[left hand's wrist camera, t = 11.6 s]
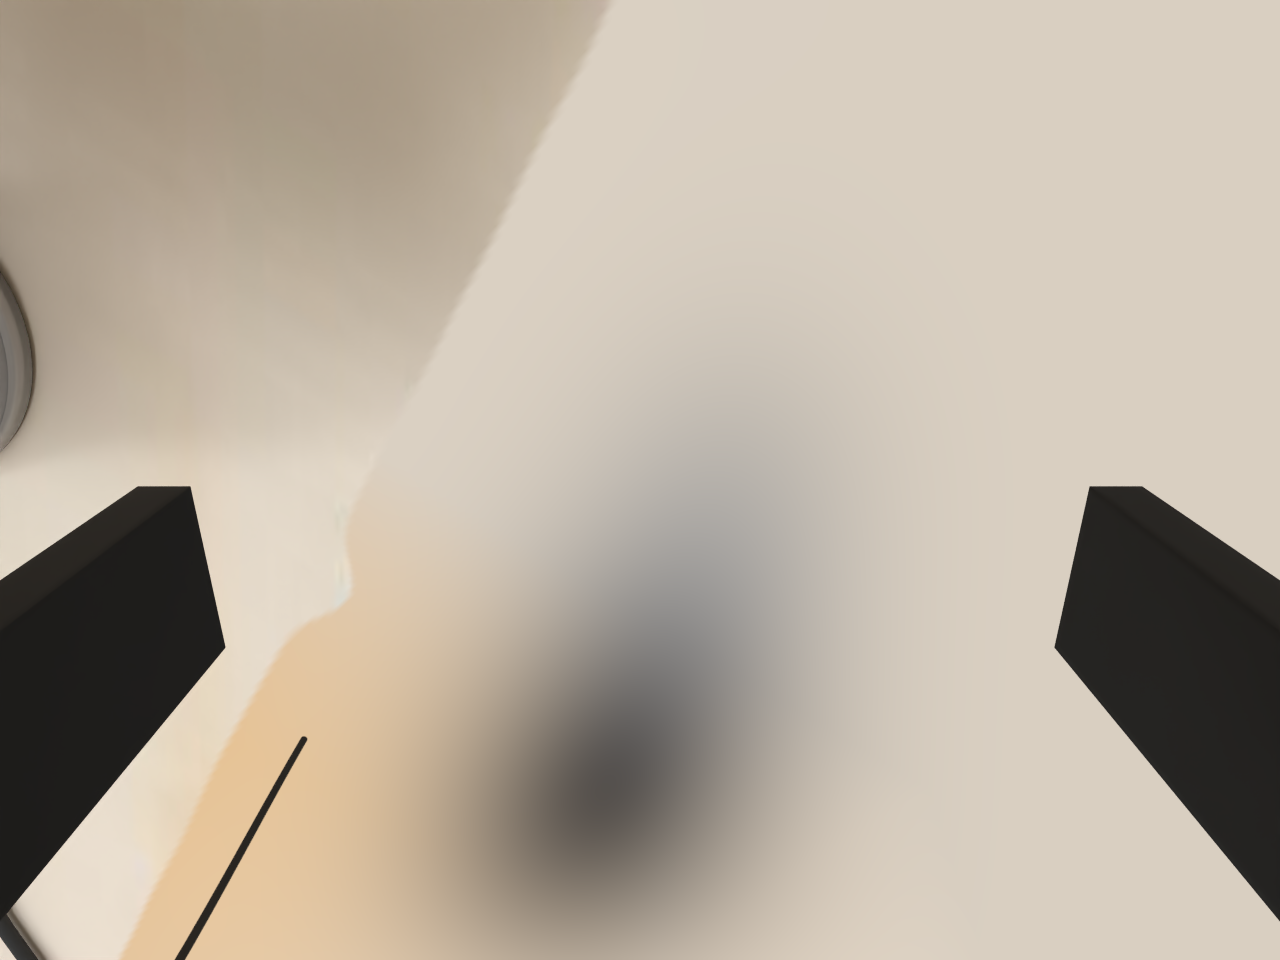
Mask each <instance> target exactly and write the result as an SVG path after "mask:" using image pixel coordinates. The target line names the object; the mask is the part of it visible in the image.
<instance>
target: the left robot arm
mask: <svg viewBox="0 0 1280 960" xmlns="http://www.w3.org/2000/svg"><path fill="white" fill-rule="evenodd" d="M31 386H32V357H31V349H30V343H29V338H28V334H27V330H26V327H25V323H24V320H23V317H22V314H21V312H20V309H19V307H18V304H17V302H16V300H15V298H14V296H13V294H12V291H11V289H10V287H9V286H8V284H7V282H6V280H5V279H4V277H3V275H2V274H1V272H0V451H1V450H2V449H3V448H4V447H5V446H6V445H7V444H8V443H9V441H10V440H11V439H12V437H13V436H14V435H15V433H16V431H17V430H18V428H19V426H20V424H21V422H22V420H23V418H24V415H25V413H26V410H27V406H28V403H29V399H30V394H31ZM224 649H225V643H224V638H223V634H222V629H221V625H220V620H219V615H218V611H217V606H216V602H215V597H214V593H213V588H212V583H211V579H210V574H209V570H208V565H207V560H206V556H205V551H204V547H203V542H202V538H201V533H200V528H199V524H198V519H197V515H196V510H195V506H194V501H193V496H192V492H191V487H190V486H138V487H136V488H135V489H133V490H132V491H130V492H129V493H128V494H126V495H125V496H123V497H122V498H120V499H119V500H117V501H116V502H114V503H113V504H111V505H110V506H108V507H107V508H106V509H104V510H103V511H101V512H100V513H98V514H97V515H95V516H94V517H92V518H91V519H89V520H88V521H87V522H85V523H84V524H82V525H81V526H79V527H78V528H76V529H75V530H73V531H72V532H70V533H69V534H67V535H66V536H65V537H63V538H62V539H60V540H59V541H57V542H56V543H54V544H53V545H51V546H50V547H48V548H47V549H45V550H44V551H43V552H41V553H40V554H38V555H37V556H35V557H34V558H32V559H31V560H29V561H28V562H26V563H25V564H23V565H22V566H21V567H19V568H18V569H16V570H15V571H13V572H12V573H10V574H9V575H7V576H6V577H4V578H3V579H1V580H0V937H1V939H2V940H3V942H4V943H5V944H6V946H7V947H8V948H9V950H10V951H11V953H12V954H13V955H14V957H15V958H16V959H17V960H38V959H37V957H36V956H35V955H34V953H33V952H32V950H31V949H30V948H29V946H28V945H27V943H26V942H25V941H24V939H23V938H22V936H21V935H20V934H19V932H18V931H17V929H16V928H15V926H14V925H13V923H12V922H11V920H10V919H9V917H8V916H7V914H6V913H7V912H8V911H9V910H10V909H11V907H12V906H13V905H14V904H15V903H16V901H17V900H18V899H19V898H20V896H21V895H22V894H23V893H24V892H25V890H26V889H27V888H28V887H29V886H30V884H31V883H32V882H33V881H34V879H35V878H36V877H37V876H38V875H39V873H40V872H41V871H42V870H43V869H44V867H45V866H46V865H47V864H48V862H49V861H50V860H51V859H52V858H53V856H54V855H55V854H56V853H57V852H58V850H59V849H60V848H61V847H62V845H63V844H64V843H65V842H66V841H67V839H68V838H69V837H70V836H71V835H72V833H73V832H74V831H75V830H76V828H77V827H78V826H79V825H80V824H81V822H82V821H83V820H84V819H85V818H86V816H87V815H88V814H89V813H90V811H91V810H92V809H93V808H94V807H95V805H96V804H97V803H98V802H99V801H100V799H101V798H102V797H103V796H104V794H105V793H106V792H107V791H108V790H109V788H110V787H111V786H112V785H113V784H114V782H115V781H116V780H117V779H118V777H119V776H120V775H121V774H122V773H123V771H124V770H125V769H126V768H127V767H128V765H129V764H130V763H131V762H132V760H133V759H134V758H135V757H136V756H137V754H138V753H139V752H140V751H141V750H142V748H143V747H144V746H145V745H146V743H147V742H148V741H149V740H150V739H151V737H152V736H153V735H154V734H155V732H156V731H157V730H158V729H159V728H160V726H161V725H162V724H163V723H164V722H165V720H166V719H167V718H168V717H169V715H170V714H171V713H172V712H173V711H174V709H175V708H176V707H177V706H178V705H179V703H180V702H181V701H182V700H183V698H184V697H185V696H186V695H187V694H188V692H189V691H190V690H191V689H192V688H193V686H194V685H195V684H196V683H197V681H198V680H199V679H200V678H201V677H202V675H203V674H204V673H205V672H206V671H207V669H208V668H209V667H210V666H211V664H212V663H213V662H214V661H215V660H216V658H217V657H218V656H219V655H220V654H221V652H222V651H223V650H224ZM1055 649H1056V650H1057V651H1058V652H1059V654H1060V655H1061V656H1062V657H1063V658H1064V660H1065V661H1066V662H1067V663H1068V664H1069V666H1070V667H1071V668H1072V669H1073V671H1074V672H1075V673H1076V674H1077V675H1078V677H1079V678H1080V679H1081V680H1082V681H1083V683H1084V684H1085V685H1086V686H1087V688H1088V689H1089V690H1090V691H1091V692H1092V694H1093V695H1094V696H1095V697H1096V698H1097V700H1098V701H1099V702H1100V703H1101V705H1102V706H1103V707H1104V708H1105V709H1106V711H1107V712H1108V713H1109V714H1110V715H1111V717H1112V718H1113V719H1114V720H1115V722H1116V723H1117V724H1118V725H1119V726H1120V728H1121V729H1122V730H1123V731H1124V732H1125V734H1126V735H1127V736H1128V737H1129V739H1130V740H1131V741H1132V742H1133V743H1134V745H1135V746H1136V747H1137V748H1138V750H1139V751H1140V752H1141V753H1142V754H1143V755H1144V757H1145V758H1146V759H1147V760H1148V762H1149V763H1150V764H1151V765H1152V766H1153V768H1154V769H1155V770H1156V771H1157V773H1158V774H1159V775H1160V776H1161V777H1162V779H1163V780H1164V781H1165V782H1166V784H1167V785H1168V786H1169V787H1170V788H1171V790H1172V791H1173V792H1174V793H1175V794H1176V796H1177V797H1178V798H1179V799H1180V801H1181V802H1182V803H1183V804H1184V805H1185V807H1186V808H1187V809H1188V810H1189V811H1190V813H1191V814H1192V815H1193V816H1194V818H1195V819H1196V820H1197V821H1198V822H1199V824H1200V825H1201V826H1202V827H1203V828H1204V830H1205V831H1206V832H1207V833H1208V835H1209V836H1210V837H1211V838H1212V839H1213V841H1214V842H1215V843H1216V844H1217V845H1218V847H1219V848H1220V849H1221V850H1222V852H1223V853H1224V854H1225V855H1226V856H1227V858H1228V859H1229V860H1230V861H1231V862H1232V864H1233V865H1234V866H1235V867H1236V868H1237V870H1238V871H1239V872H1240V873H1241V875H1242V876H1243V877H1244V878H1245V879H1246V881H1247V882H1248V883H1249V884H1250V885H1251V887H1252V888H1253V889H1254V890H1255V892H1256V893H1257V894H1258V895H1259V896H1260V898H1261V899H1262V900H1263V901H1264V903H1265V904H1266V905H1267V906H1268V907H1269V909H1270V910H1271V911H1272V912H1273V913H1274V915H1275V916H1276V917H1277V918H1278V920H1279V921H1280V580H1279V579H1277V578H1276V577H1274V576H1273V575H1271V574H1270V573H1268V572H1267V571H1265V570H1264V569H1262V568H1261V567H1259V566H1258V565H1257V564H1255V563H1254V562H1252V561H1251V560H1249V559H1248V558H1246V557H1245V556H1243V555H1242V554H1240V553H1239V552H1237V551H1236V550H1235V549H1233V548H1232V547H1230V546H1229V545H1227V544H1226V543H1224V542H1223V541H1221V540H1220V539H1218V538H1217V537H1215V536H1214V535H1213V534H1211V533H1210V532H1208V531H1207V530H1205V529H1204V528H1202V527H1201V526H1199V525H1198V524H1196V523H1195V522H1193V521H1192V520H1191V519H1189V518H1188V517H1186V516H1185V515H1183V514H1182V513H1180V512H1179V511H1177V510H1176V509H1174V508H1173V507H1171V506H1170V505H1169V504H1167V503H1166V502H1164V501H1163V500H1161V499H1160V498H1158V497H1157V496H1155V495H1154V494H1152V493H1151V492H1149V491H1148V490H1147V489H1145V488H1144V487H1142V486H1130V487H1129V486H1097V487H1096V486H1093V487H1092V486H1090V488H1089V492H1088V496H1087V501H1086V506H1085V510H1084V515H1083V519H1082V524H1081V528H1080V533H1079V538H1078V542H1077V547H1076V551H1075V556H1074V561H1073V565H1072V570H1071V574H1070V579H1069V583H1068V588H1067V593H1066V597H1065V602H1064V606H1063V611H1062V616H1061V620H1060V625H1059V629H1058V634H1057V638H1056V643H1055ZM306 742H307V737H305V736H302V737H301V739H300V740H299V742H298V744H297V745H296V747H295V749H294V751H293V752H292V754H291V756H290V757H289V759H288V761H287V763H286V764H285V766H284V768H283V770H282V771H281V773H280V775H279V777H278V778H277V780H276V782H275V784H274V786H273V787H272V789H271V791H270V793H269V795H268V796H267V798H266V800H265V801H264V803H263V805H262V807H261V809H260V811H259V812H258V814H257V816H256V818H255V819H254V821H253V823H252V825H251V827H250V828H249V830H248V832H247V834H246V836H245V837H244V839H243V841H242V843H241V844H240V846H239V848H238V850H237V852H236V854H235V855H234V857H233V859H232V861H231V862H230V864H229V866H228V868H227V869H226V871H225V873H224V875H223V877H222V878H221V880H220V882H219V884H218V885H217V887H216V889H215V891H214V893H213V894H212V896H211V898H210V900H209V901H208V903H207V905H206V907H205V908H204V910H203V912H202V914H201V915H200V917H199V919H198V921H197V922H196V924H195V926H194V927H193V929H192V931H191V933H190V934H189V936H188V938H187V940H186V941H185V943H184V945H183V946H182V948H181V950H180V951H179V953H178V955H177V956H176V958H175V960H185V959H186V957H187V956H188V954H189V952H190V951H191V949H192V947H193V945H194V944H195V942H196V940H197V938H198V936H199V935H200V933H201V931H202V930H203V928H204V926H205V924H206V922H207V921H208V919H209V917H210V915H211V914H212V912H213V910H214V908H215V906H216V905H217V903H218V901H219V899H220V897H221V896H222V894H223V892H224V890H225V888H226V887H227V885H228V883H229V881H230V879H231V877H232V876H233V874H234V872H235V870H236V868H237V867H238V865H239V863H240V861H241V859H242V857H243V856H244V854H245V852H246V850H247V848H248V846H249V845H250V843H251V841H252V839H253V837H254V835H255V833H256V832H257V830H258V828H259V826H260V824H261V823H262V821H263V819H264V817H265V815H266V813H267V811H268V810H269V808H270V806H271V804H272V802H273V801H274V799H275V797H276V795H277V793H278V792H279V790H280V788H281V786H282V784H283V782H284V781H285V779H286V777H287V775H288V774H289V772H290V770H291V768H292V766H293V765H294V763H295V761H296V759H297V758H298V756H299V754H300V752H301V751H302V749H303V747H304V745H305V743H306Z"/></svg>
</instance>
